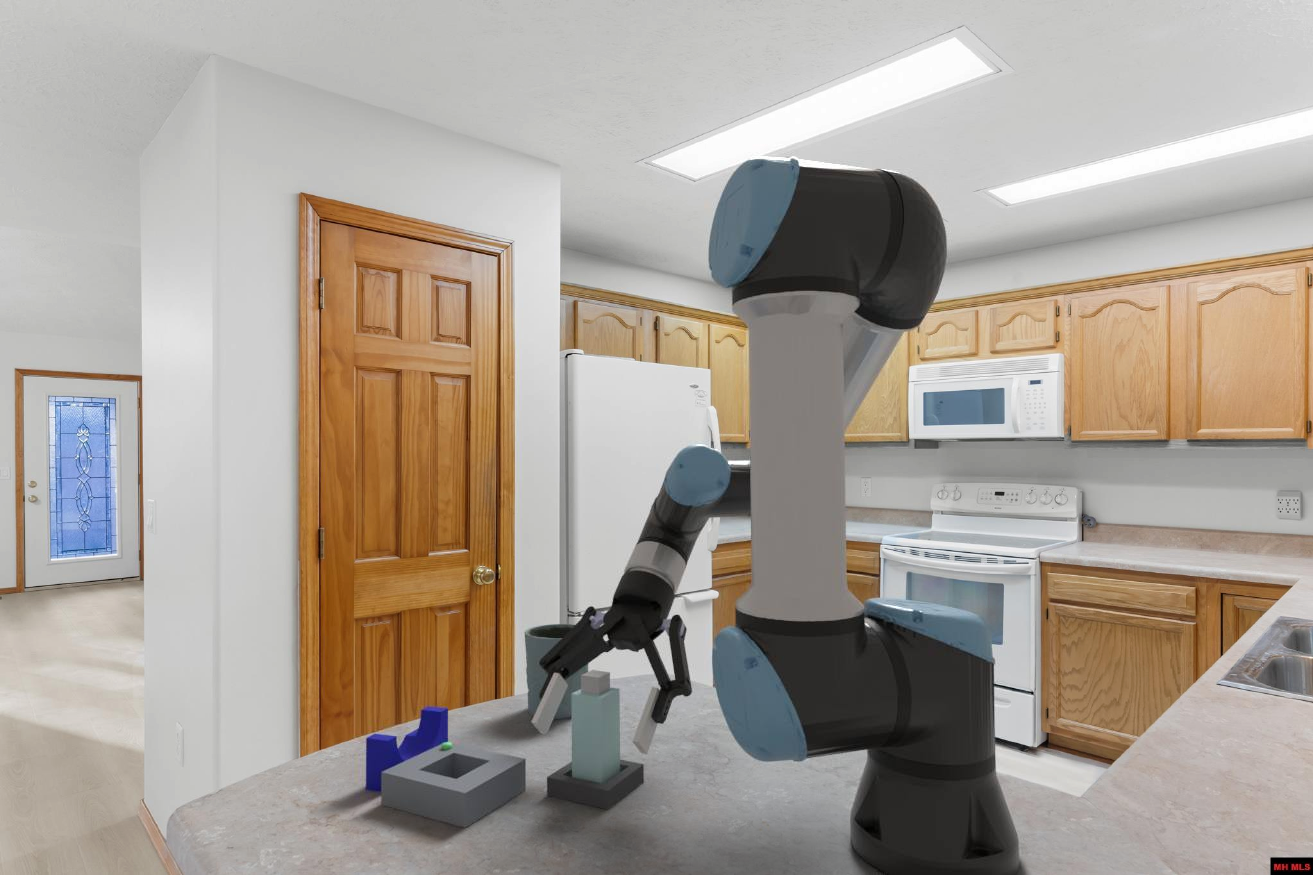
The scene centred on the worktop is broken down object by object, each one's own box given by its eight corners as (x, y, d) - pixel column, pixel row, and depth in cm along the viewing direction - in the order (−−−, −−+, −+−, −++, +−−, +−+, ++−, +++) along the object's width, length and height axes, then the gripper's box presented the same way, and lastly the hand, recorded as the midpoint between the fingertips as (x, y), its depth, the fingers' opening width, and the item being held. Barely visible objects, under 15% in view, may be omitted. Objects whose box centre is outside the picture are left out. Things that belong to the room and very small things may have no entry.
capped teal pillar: (620, 784, 86) (619, 671, 87) (602, 798, 83) (601, 680, 83) (591, 778, 88) (590, 667, 89) (571, 791, 85) (571, 675, 85)
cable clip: (418, 751, 98) (418, 705, 98) (447, 755, 96) (448, 708, 97) (355, 789, 86) (355, 736, 87) (387, 794, 85) (388, 740, 85)
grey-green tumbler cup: (526, 701, 118) (526, 624, 118) (591, 698, 119) (590, 622, 119) (522, 722, 108) (522, 639, 108) (593, 719, 109) (592, 636, 109)
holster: (643, 781, 87) (643, 763, 87) (608, 809, 80) (607, 790, 80) (586, 769, 91) (585, 752, 91) (547, 795, 84) (547, 776, 84)
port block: (525, 789, 85) (525, 754, 85) (465, 827, 76) (465, 788, 76) (446, 770, 91) (446, 737, 91) (381, 804, 82) (381, 767, 82)
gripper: (745, 609, 95) (697, 773, 81) (581, 595, 106) (514, 736, 93) (729, 572, 90) (675, 739, 76) (559, 562, 102) (486, 705, 88)
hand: (587, 738), depth 84 cm, fingers open, 13 cm apart
